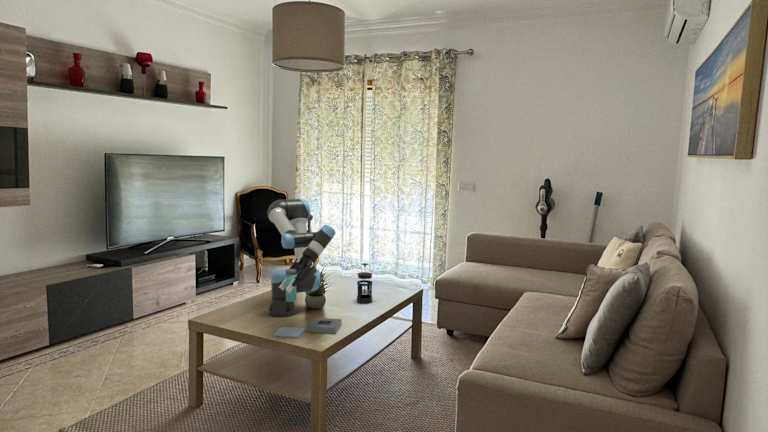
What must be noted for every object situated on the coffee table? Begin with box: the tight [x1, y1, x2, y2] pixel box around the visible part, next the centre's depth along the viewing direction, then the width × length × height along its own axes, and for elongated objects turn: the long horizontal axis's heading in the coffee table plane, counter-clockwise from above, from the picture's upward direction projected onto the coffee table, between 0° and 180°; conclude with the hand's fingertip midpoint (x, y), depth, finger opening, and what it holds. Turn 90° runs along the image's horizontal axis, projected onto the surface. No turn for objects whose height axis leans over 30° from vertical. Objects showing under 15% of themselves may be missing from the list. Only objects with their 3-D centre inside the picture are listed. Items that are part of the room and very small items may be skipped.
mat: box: [273, 326, 306, 339], centre depth 259 cm, size 12×12×1 cm
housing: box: [306, 317, 343, 335], centre depth 266 cm, size 14×14×3 cm
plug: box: [286, 268, 297, 303], centre depth 256 cm, size 5×5×15 cm
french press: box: [356, 262, 373, 305], centre depth 314 cm, size 12×9×23 cm
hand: (284, 289), depth 254 cm, fingers closed on plug, 5 cm apart
